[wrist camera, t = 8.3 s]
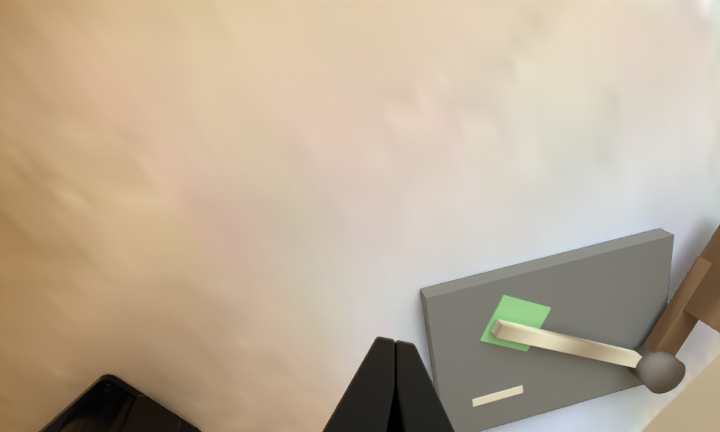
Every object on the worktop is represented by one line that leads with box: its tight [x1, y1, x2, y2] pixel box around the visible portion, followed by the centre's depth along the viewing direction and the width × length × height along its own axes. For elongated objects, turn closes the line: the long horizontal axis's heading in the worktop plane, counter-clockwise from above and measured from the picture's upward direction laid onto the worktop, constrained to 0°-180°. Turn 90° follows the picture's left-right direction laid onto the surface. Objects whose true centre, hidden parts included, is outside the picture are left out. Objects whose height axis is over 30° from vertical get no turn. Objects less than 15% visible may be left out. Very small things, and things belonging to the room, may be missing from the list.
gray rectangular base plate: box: [420, 228, 674, 432], centre depth 26 cm, size 14×10×1 cm
